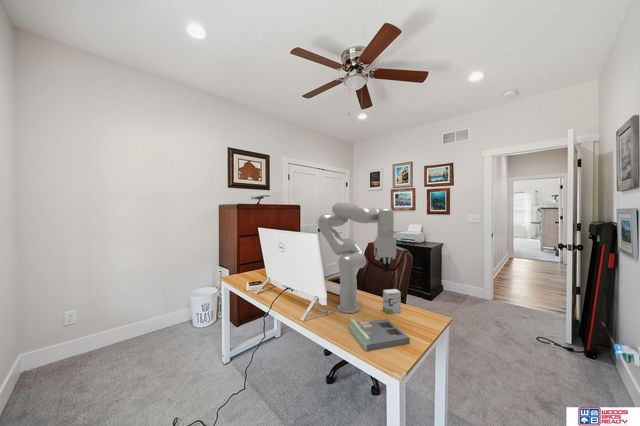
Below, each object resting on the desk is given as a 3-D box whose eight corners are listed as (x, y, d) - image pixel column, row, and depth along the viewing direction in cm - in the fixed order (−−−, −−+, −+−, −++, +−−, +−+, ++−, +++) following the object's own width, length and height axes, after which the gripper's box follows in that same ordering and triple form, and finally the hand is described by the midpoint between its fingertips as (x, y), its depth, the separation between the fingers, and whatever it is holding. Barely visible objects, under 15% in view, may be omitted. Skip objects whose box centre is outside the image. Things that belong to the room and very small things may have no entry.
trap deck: (348, 329, 113) (348, 319, 113) (387, 323, 118) (387, 313, 118) (365, 351, 95) (365, 338, 95) (409, 343, 100) (409, 331, 100)
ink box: (396, 309, 135) (396, 288, 135) (401, 312, 130) (401, 291, 130) (382, 310, 134) (382, 289, 134) (386, 314, 129) (386, 292, 129)
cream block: (359, 331, 106) (359, 322, 106) (367, 330, 107) (367, 321, 107) (363, 336, 102) (363, 327, 102) (372, 335, 103) (371, 325, 103)
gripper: (394, 232, 120) (394, 268, 121) (368, 233, 117) (368, 270, 117) (403, 234, 113) (403, 272, 113) (375, 235, 109) (375, 274, 110)
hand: (385, 271), depth 115 cm, fingers closed
